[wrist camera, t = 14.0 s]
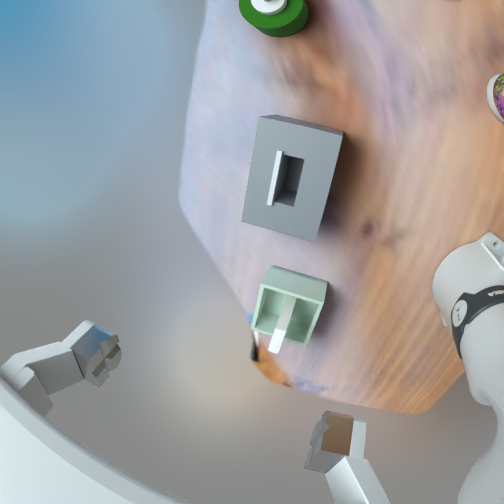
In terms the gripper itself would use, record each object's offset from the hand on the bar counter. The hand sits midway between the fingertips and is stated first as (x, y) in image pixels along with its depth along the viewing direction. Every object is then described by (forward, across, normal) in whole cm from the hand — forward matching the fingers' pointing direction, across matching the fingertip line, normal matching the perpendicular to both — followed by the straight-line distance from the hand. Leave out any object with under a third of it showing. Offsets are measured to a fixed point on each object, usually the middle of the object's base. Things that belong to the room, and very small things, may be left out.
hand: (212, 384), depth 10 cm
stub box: (+38, -1, +23) cm, 44 cm away
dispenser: (+38, +3, +1) cm, 38 cm away
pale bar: (+37, -1, +23) cm, 44 cm away
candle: (+38, +10, -22) cm, 45 cm away
